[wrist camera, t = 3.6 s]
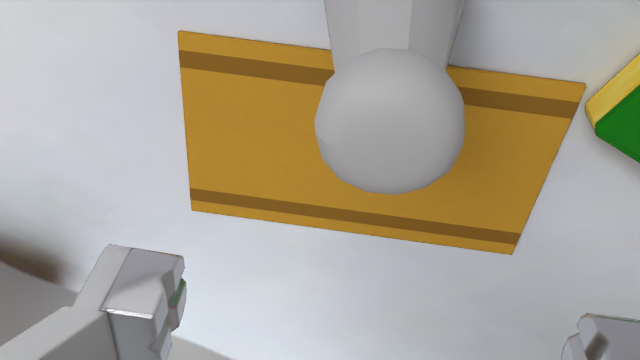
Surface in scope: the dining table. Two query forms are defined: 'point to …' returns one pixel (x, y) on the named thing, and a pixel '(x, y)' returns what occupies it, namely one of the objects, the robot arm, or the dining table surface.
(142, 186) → the dining table surface
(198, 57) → the cloth
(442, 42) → the salt shaker
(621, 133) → the dish sponge
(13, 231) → the dining table surface
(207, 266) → the dining table surface
